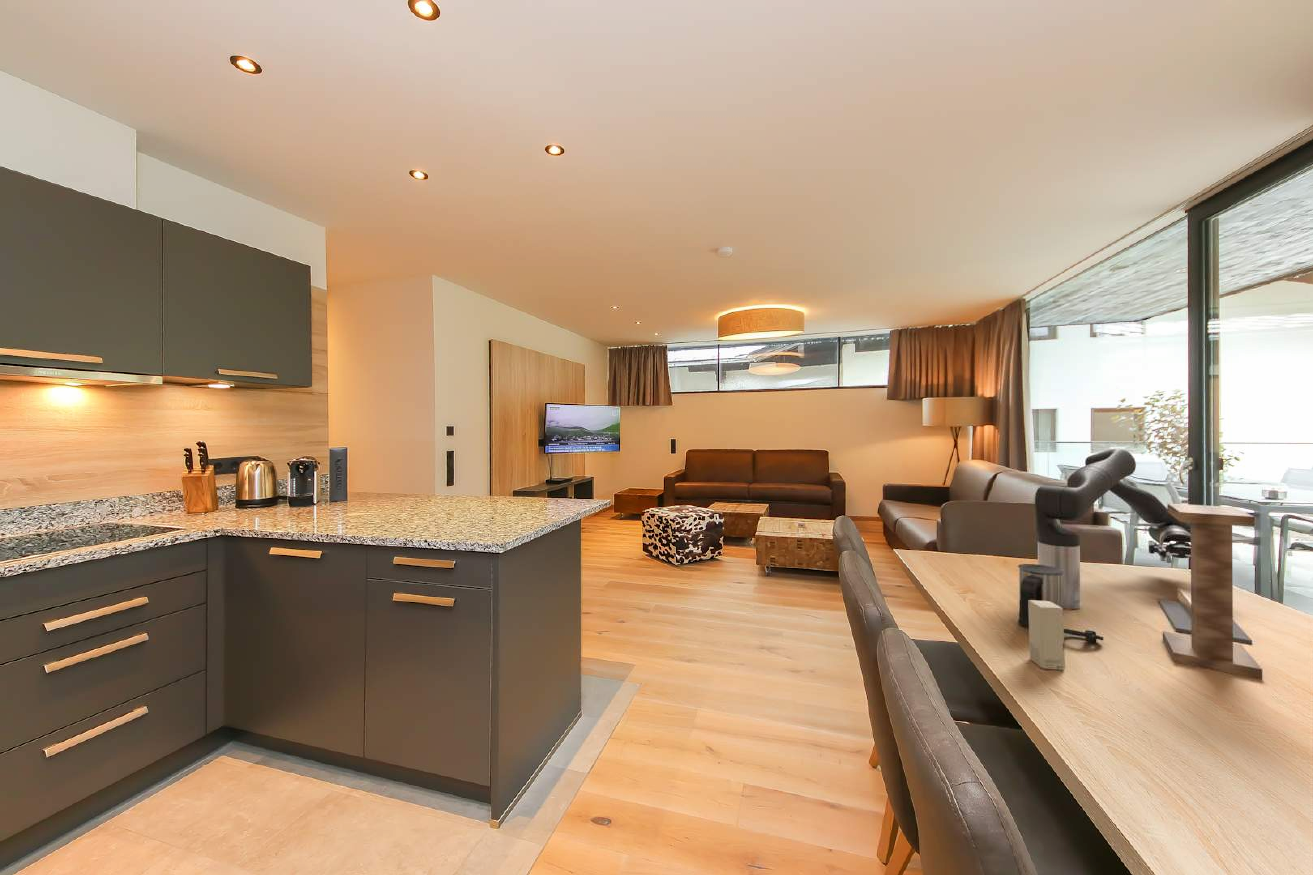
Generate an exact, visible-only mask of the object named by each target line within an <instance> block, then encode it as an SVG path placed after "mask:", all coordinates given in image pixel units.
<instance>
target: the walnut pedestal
mask: <svg viewBox="0 0 1313 875" xmlns="http://www.w3.org/2000/svg"><path fill="white" fill-rule="evenodd" d="M1166 508H1167V512H1168V513H1170V514H1171V515H1172V516H1173V517H1175V518H1176V519H1177V520H1179V521H1180V522H1189V523H1191V557H1190V589H1191V635H1187V634H1183V633H1182V634H1181V633H1177V632H1170V631H1165V630H1164V631H1162V642H1163V643H1164V645H1165V648H1166V649H1167V652H1168V653H1169V655H1170V656H1171V659H1172V661H1173V662H1174V663H1178V664H1183V665H1188V666H1193V667H1197V668H1201V669H1206V670H1207V669H1208V670H1213V671H1217V672H1223V673H1228V674H1233V675H1238V676H1243V677H1248V678H1252V679H1253V678H1254V679H1259V680H1263V668H1262V667H1261V666H1260V665H1259V664H1258V662H1256V660H1255V659H1254V658H1253V656H1252V655H1251V654H1250V653H1249V651H1248V650H1246V649H1245V647H1244V645H1242V644H1240V643H1235V642H1234V641H1233V620H1234V619H1233V618H1234V616H1233V615H1234V613H1233V612H1234V611H1233V606H1234V605H1233V603H1234V602H1233V601H1234V600H1233V594H1234V593H1233V591H1234V590H1233V588H1234V587H1233V584H1234V583H1233V526H1238V527H1251V528H1254V527H1255V516H1253V515H1251V514H1249V513H1247V512H1245V511H1243V510H1240V509H1239V508H1236V507H1233V506H1226V505H1225V506H1224V505H1222V506H1219V505H1203V504H1188V503H1168V502H1167V507H1166Z"/></svg>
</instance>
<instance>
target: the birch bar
mask: <svg viewBox="0 0 1313 875" xmlns="http://www.w3.org/2000/svg"><path fill="white" fill-rule="evenodd" d="M1177 599H1178V600H1179V602H1181V603H1182V604H1183V606H1184V607H1185V608H1186V610H1187V611H1188V612H1189V614H1190V615H1191V588H1182V587H1177Z"/></svg>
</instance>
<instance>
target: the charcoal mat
mask: <svg viewBox="0 0 1313 875" xmlns="http://www.w3.org/2000/svg"><path fill="white" fill-rule="evenodd" d="M1157 601H1158V603H1159V605H1160V607H1161V608H1162V610H1163V612H1164V614H1165V616H1166V617H1167V619H1168V620H1169V622H1170V624H1171V626H1172V627H1173V629H1174V630H1175V632H1179V633H1184V634H1191V615H1190V614H1189V612H1188V611H1187V610H1186V608H1185V607H1184V606H1183V604H1182V603H1181V602H1180V601H1178V600H1169V599H1165V598H1158V599H1157ZM1233 642H1237V643H1243V644H1249V645H1253V640H1252V638H1251V637H1250V636H1249V635H1248V634H1247V633H1246V632H1245V631H1244V630H1243V628H1241V627H1240V626H1239V625H1238V624H1237V622H1236V621H1235V620H1234V619H1233Z"/></svg>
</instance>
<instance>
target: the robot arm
mask: <svg viewBox="0 0 1313 875" xmlns="http://www.w3.org/2000/svg"><path fill="white" fill-rule="evenodd" d="M1084 464H1085V465H1084V466H1082V467H1079V468H1078V469H1077V470H1076V471H1074V472H1073V473H1071V474H1070V476H1069V477H1068V478H1067V481H1066V484H1067V485H1066V486H1053V485H1051V486H1050V485H1041V486H1039V487H1038V488H1037V490H1036V491H1035V495H1034V510H1035V512H1034V513H1035V525H1036V526H1035V528H1036V535H1037V565H1044V566H1050V567H1054V568H1058V569H1061V570H1062V571H1064V573H1063V574H1062V608H1063V610H1065V609H1067V610H1076V609H1080V608H1081V552H1080V551H1081V545H1080V544H1081V539H1080V536H1079V535H1078V534H1077V533H1075V532H1072V531H1070V530H1068V529H1066V528H1064V527H1062V526H1061V525H1059V523H1057V521H1056V520H1060V521H1070V522H1071V521H1079V520H1081V519H1083V518H1084V517H1085V516H1086V514H1087V513H1088V512H1089V510H1090V509H1091V507H1092V506H1093V505H1094V504H1095V503H1096V502H1097V501H1098V500H1099V499H1100V498H1101V497H1103V496H1104V495H1106V493H1107V492H1109V491H1110V492H1111V493H1112V494H1114V495H1116V496H1117V497H1118V498H1119V499H1121V500H1122V501H1124V503H1125V504H1127V505H1128V506H1129V507H1130V508H1131V509H1132V510H1133V511H1134V513H1136V514H1137V515H1138V516H1139V517H1140V518H1141V520H1142V521H1144V522H1145V523H1147V524H1152V525H1150V526H1149V527H1148V530H1147V532H1148V534H1149V536H1150V537H1151V538H1152V540H1148V553H1149V554H1152V555H1153V554H1155V553H1157V555H1158V556H1160V557H1162V558H1165V559H1167V556H1168V557H1169V556H1171V557H1173V558H1177V559H1190V558H1191V522H1180V521H1179V520H1177V519H1176V518H1175V517H1173V516H1172V515H1171V514H1170V513H1168V512H1167V507H1166V506H1165V505H1164V504H1163V502H1161V501H1160V500H1159V498H1157V497H1156V496H1155V495H1154V494H1152V493H1151V492H1149V491H1147V490H1144V489H1142V488H1140V487H1137V486H1133V485H1130V484H1129V483H1128V484H1127V483H1126V482H1123V481H1121V480H1123V479H1125V478H1127V477H1128V476H1130V475H1133V474H1134V473H1135V470H1136V468H1137V467H1136V466H1137V464H1136V460H1135V457H1134V455H1132V453H1130V452H1129V451H1127V450H1125V449H1123V448H1113V449H1109V450H1106V451H1102V452H1098V453H1094V454H1092V455H1089V456H1086V458H1085V462H1084Z"/></svg>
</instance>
